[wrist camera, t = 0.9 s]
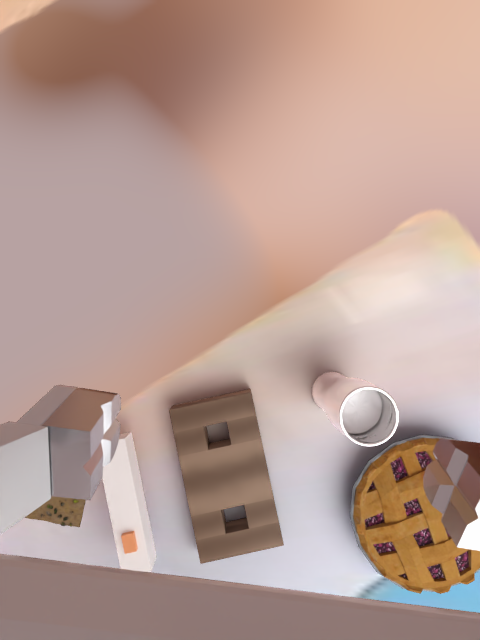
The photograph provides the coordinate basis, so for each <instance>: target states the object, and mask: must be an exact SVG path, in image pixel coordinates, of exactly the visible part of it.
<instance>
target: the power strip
mask: <svg viewBox="0 0 480 640" xmlns="http://www.w3.org/2000/svg"><path fill="white" fill-rule="evenodd" d="M102 479H103V484H104V489H105V494H106V499H107V504H108V509H109V514H110V519H111V524H112V529H113V534H114V539H115V544H116V549H117V554H118V559H119V564H120V569H127V570H135V571H143V572H150V571H152V569H153V566H154V563H155V560H156V558H157V555H156V550H155V545H154V540H153V535H152V530H151V525H150V520H149V515H148V510H147V505H146V500H145V495H144V491H143V486H142V481H141V476H140V471H139V466H138V461H137V456H136V451H135V446H134V441H133V436H132V432H129V433H124V434H120V435H119V441H118V445H117V448H116V451H115V454H114V456H113V458H112V460H111V462H110V463H109V464H108V465H106V466H104V467H103V477H102Z"/></svg>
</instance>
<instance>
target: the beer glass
mask: <svg viewBox="0 0 480 640" xmlns="http://www.w3.org/2000/svg"><path fill="white" fill-rule="evenodd" d="M312 396H313V399H314V402H315V403H316V405H317V406H318V407H319V408H321V409H322V410H324V411H325V413H326V415H327V417H328V419H329V421H330V422H331V423H332V424H333V426H334V427H335V428H336V429H337V430H338V431H339V432H341V433H342V434H343V435H345V436H346V437H347V438H349V439H350V440H351V441H353V442H354V443H356V444H359V445H362V446H377V445H380V444H382V443H384V442H386V441H387V440H388V439H389V438H390V437H391V436H392V435H393V434H394V432H395V430H396V428H397V426H398V421H399V412H398V408H397V405H396V403H395V401H394V399H393V398H392V397H391V396H390V395H389V394H388V393H387V392H386V391H384V390H383V389H381V388H379V387H377V386H376V385H374V384H372V383H370V382H368V381H366V380H363V379H359V378H352V377H345V376H344V375H342V374H340V373H338V372H326V373H324V374H322V375H320V376H319V377H318V378H317V379H316V380H315V382H314V384H313V387H312Z"/></svg>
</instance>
